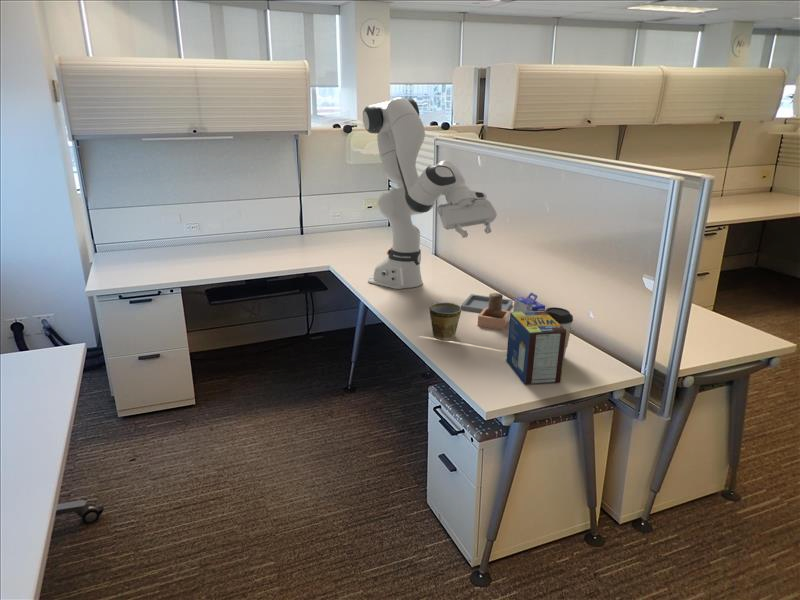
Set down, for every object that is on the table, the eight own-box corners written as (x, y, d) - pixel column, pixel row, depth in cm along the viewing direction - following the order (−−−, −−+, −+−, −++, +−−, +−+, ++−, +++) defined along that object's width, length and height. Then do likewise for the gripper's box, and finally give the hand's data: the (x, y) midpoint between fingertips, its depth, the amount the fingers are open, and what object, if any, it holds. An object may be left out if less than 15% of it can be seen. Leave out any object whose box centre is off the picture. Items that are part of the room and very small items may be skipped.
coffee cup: (545, 348, 176) (550, 302, 171) (572, 356, 171) (579, 309, 166) (531, 357, 169) (536, 310, 164) (560, 366, 164) (566, 318, 159)
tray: (460, 310, 205) (460, 305, 204) (470, 299, 217) (471, 294, 217) (504, 317, 200) (504, 312, 199) (512, 305, 212) (512, 300, 211)
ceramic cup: (464, 341, 180) (466, 311, 176) (434, 344, 177) (435, 314, 173) (449, 326, 191) (450, 298, 188) (421, 329, 189) (422, 300, 185)
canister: (485, 324, 192) (487, 296, 189) (488, 319, 196) (491, 292, 192) (498, 326, 190) (501, 298, 187) (501, 321, 194) (503, 294, 191)
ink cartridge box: (542, 341, 181) (547, 298, 176) (527, 344, 179) (532, 300, 174) (524, 330, 189) (528, 288, 184) (510, 332, 187) (513, 290, 182)
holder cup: (477, 327, 191) (478, 316, 190) (483, 318, 199) (484, 307, 197) (503, 331, 188) (504, 320, 186) (509, 322, 196) (510, 311, 194)
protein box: (538, 358, 169) (544, 309, 164) (560, 383, 155) (567, 330, 149) (505, 360, 167) (509, 311, 162) (524, 385, 153) (529, 332, 148)
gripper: (438, 199, 190) (454, 233, 185) (489, 192, 198) (505, 224, 193) (432, 211, 195) (447, 244, 190) (481, 203, 203) (498, 235, 198)
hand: (477, 234), depth 192 cm, fingers open, 8 cm apart
